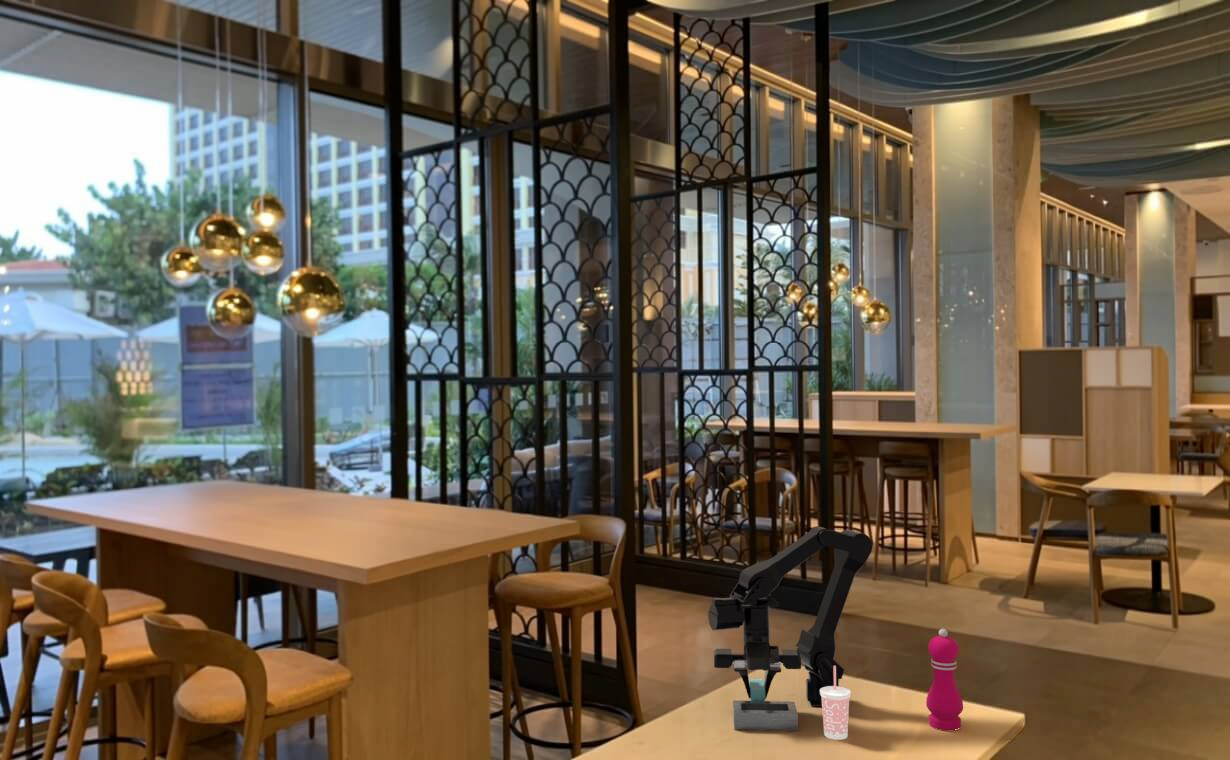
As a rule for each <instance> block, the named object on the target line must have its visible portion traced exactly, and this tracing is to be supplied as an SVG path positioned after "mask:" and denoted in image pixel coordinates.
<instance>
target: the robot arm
mask: <svg viewBox="0 0 1230 760" xmlns="http://www.w3.org/2000/svg"><path fill="white" fill-rule="evenodd" d="M826 547H827V548H833V560H834V566H833V570H832V573H831V576H830V579H829V581H828V584H827V587H826V590H825V592H824V595H823V599H822V601H821V605H820V607H819V609H818V612H817V616H816V618H815V621H814V623H813V626H812V627H810V628H809V629H808V630H805V629H801V631H800V635H799V639H798V642H797V643H796V644H795V646H796V647H797V649H783V648H782V649H779V646H778V645H770V643H771V642H770V639H771V638H770V637H771V636H770V635H771V634H770V607H778V606H779V602H778V601H776V599H774V598H773V596H772V594H771V593H772V592H773V591H774V590H775V589H777V588H778V586H779V585H780V582H781V581H782V579H783V578H784V577H785V576H786V575H788V573H790V572H791V571H793V570H794V569H796V568H797V567H798V566H800V565H802V564H803V563H805V562H806V561H807V560H808V559H810V558H811V557H813V556H814V555H815V554H817V553H818V552H819V551H821V550H822V549H824V548H826ZM873 547H874V544H873V542H872V540H871V538H870V537H869V535H867V534H866V533H863V532H859V531H855V530H851V529H844V530H843V531H836V530H832V529H828V528H825V527H821V526H819V525H818V526H814V527H812V528H811V529H810V530H809V532H806V533H805V534H804V535H803V536H801V537H800V538H799V539H796V541H794V542H793V543H791V544H790V545H788V546H787V547H786V548H784V549H783V550H781V551H780V552H779V553H777V554H776V555H774V556H773V557H771V558H769V559H766V560H763V561H760V562H757V563H754V564H752V565H751V566H748V567H746V568H744V569H743V570H742V571H741V572H740V573H739V578H738V582H737V583H736V585H735V586H734V588H733V589H732V591H731V592H730V594H729V597H712V598H711V604H710V605H709V608H708V611H707V619H708V622H709V623H708V624H709V626H710V629H711V630H712V631H725V630H737V629H740V628H741V627H742V630H743V631H742V633H743V634H742V635H743V637H742V638H743V641H742V642H743V653H733V651H732V648H715V650H714V651H713V662H714V663H713V667H714V668H716V669H730V668H731V667H732V666H733V672H735V673H739V675H740V677H741V679H742V681H743V684H744V687H745V690H746V694H747V697H748V699H750V698H751V691H750V680H749V679H750V678H749V674H748V673H749V672H748V670H749V671H755V670H757V671H758V670H760V671H761V670H762V671H765V673H764V681H763V682H764V686H765V700H766V699H767V697H768V694H769V691H770V688H771V685H772V682H773V679H775V676H776V674H777V673H782V668H781V667H782V666H783V667H785V669H786V670H801V669H802V664H803V667H804V669H805V670H806V671H808V672H807V673H808V678H806V679H805V696H806V700H807V701H809V705H810V706H811V707H822V699H821V695H820V689H821V688H823V687H827V686H834V666H836V686H838V687H840V686H839V685H840V684H839V683H840V682H839V681H840V680H841V679H843V675H844V671H845V669H844V668H843V667H842V666H841V664H839V663H838V662H837V661H836V659H835V655H836V654H835V653H836V637H835V635H836V631H837V627H838V624H839V622H840V619H841V616H842V613H843V610H844V608H845V604H846V602H847V599H848V597H849V594H850V590H851V588H852V584H853V582H854V579H855V577H856V574H857V573H858V572H859V570H860V569H862V568H863V567H864V565H865V564H866V563H867V561H868V559H869V557H870V556H871V554H872V552H873V549H874V548H873ZM745 593H746V594H745ZM779 651H780V652H779Z"/></svg>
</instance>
